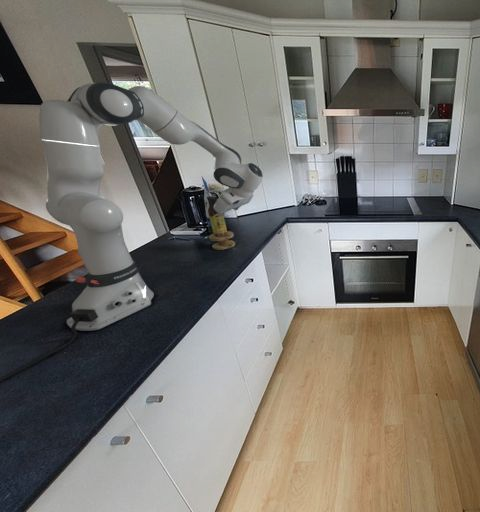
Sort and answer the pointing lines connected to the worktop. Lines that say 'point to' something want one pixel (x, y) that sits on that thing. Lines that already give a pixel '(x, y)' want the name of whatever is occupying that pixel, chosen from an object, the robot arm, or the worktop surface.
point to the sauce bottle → (216, 218)
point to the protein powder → (207, 205)
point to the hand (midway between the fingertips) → (227, 211)
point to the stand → (222, 241)
